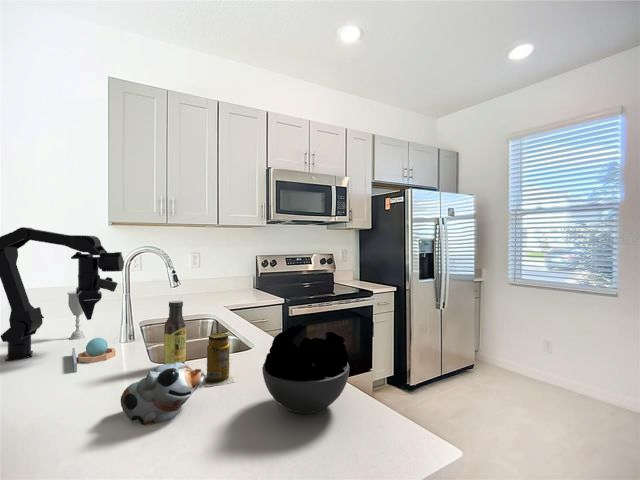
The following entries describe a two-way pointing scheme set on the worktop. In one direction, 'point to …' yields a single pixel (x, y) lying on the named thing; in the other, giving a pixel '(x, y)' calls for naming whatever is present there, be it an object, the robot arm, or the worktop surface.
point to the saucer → (89, 359)
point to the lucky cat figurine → (160, 393)
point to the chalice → (76, 311)
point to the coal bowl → (306, 370)
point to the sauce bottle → (175, 335)
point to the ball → (96, 347)
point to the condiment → (218, 360)
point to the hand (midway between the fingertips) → (88, 317)
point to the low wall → (74, 359)
